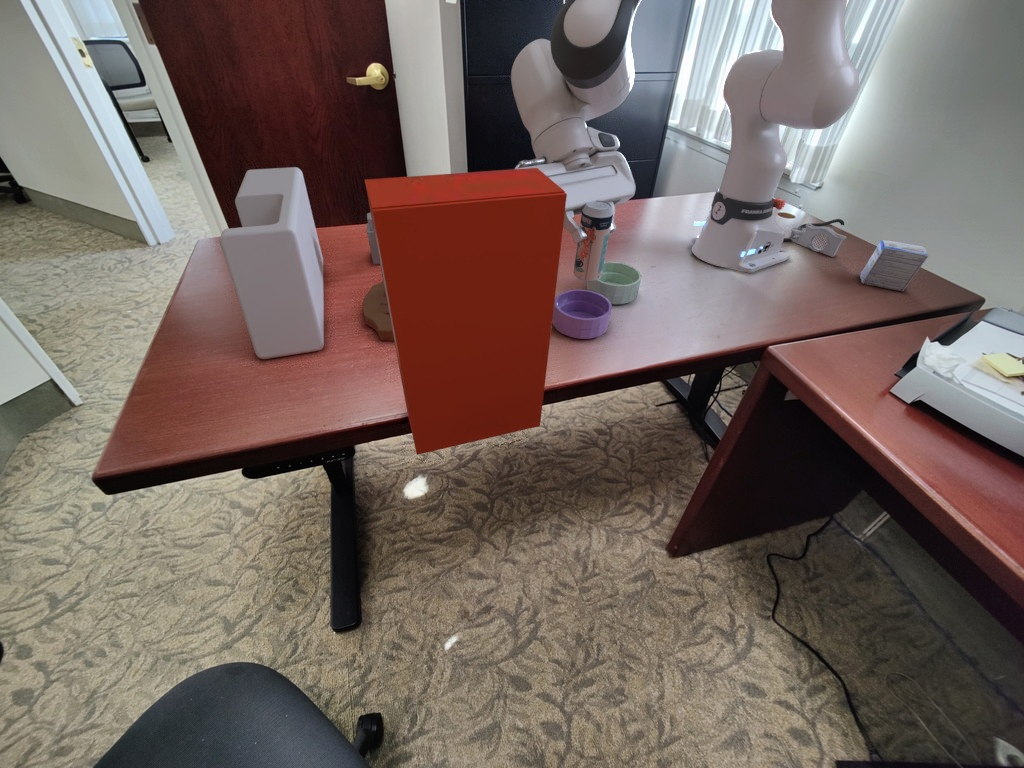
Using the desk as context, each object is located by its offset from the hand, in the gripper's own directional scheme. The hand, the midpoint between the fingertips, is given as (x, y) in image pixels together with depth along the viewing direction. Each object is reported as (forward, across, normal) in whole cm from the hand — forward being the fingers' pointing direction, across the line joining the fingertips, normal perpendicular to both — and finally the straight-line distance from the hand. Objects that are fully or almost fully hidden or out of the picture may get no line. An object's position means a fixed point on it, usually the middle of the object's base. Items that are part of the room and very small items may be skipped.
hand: (596, 237), depth 69 cm
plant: (-2, -24, +26) cm, 35 cm away
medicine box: (+27, +68, -3) cm, 74 cm away
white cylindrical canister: (+5, 0, +6) cm, 7 cm away
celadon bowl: (+8, +13, +16) cm, 22 cm away
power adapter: (-19, -22, +44) cm, 52 cm away
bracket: (-13, -42, +38) cm, 58 cm away
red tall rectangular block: (+20, -29, +5) cm, 35 cm away
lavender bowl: (+12, 0, +12) cm, 17 cm away
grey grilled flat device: (+14, +73, +10) cm, 75 cm away
